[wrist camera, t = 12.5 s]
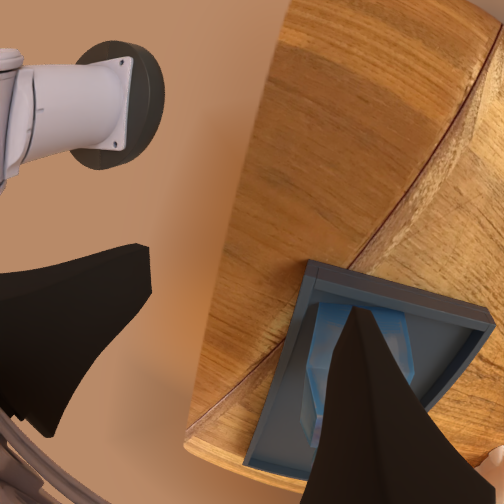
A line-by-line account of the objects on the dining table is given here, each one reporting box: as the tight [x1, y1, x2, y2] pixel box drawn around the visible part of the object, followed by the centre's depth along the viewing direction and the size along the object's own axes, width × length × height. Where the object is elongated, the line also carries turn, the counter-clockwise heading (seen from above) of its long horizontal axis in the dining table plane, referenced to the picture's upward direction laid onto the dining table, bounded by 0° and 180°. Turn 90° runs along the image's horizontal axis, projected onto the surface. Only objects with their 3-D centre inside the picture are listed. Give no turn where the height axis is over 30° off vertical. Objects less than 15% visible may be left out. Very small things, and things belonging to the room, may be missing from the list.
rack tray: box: [242, 259, 496, 481], centre depth 25 cm, size 16×36×2 cm, turn 172°
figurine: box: [474, 445, 504, 504], centre depth 16 cm, size 11×11×15 cm
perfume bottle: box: [300, 302, 415, 468], centre depth 15 cm, size 6×6×12 cm
